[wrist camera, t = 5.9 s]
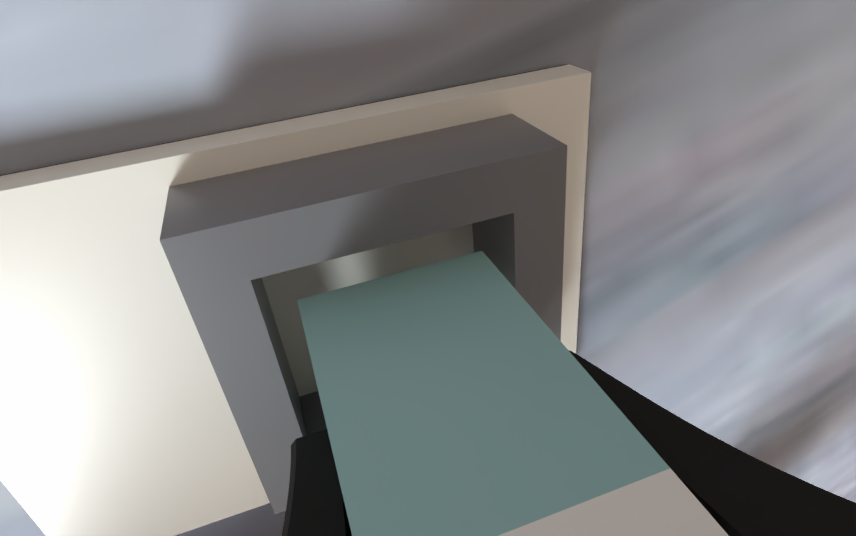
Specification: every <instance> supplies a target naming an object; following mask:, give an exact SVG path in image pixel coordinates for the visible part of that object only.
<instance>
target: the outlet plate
mask: <svg viewBox="0 0 856 536" xmlns="http://www.w3.org/2000/svg"><path fill="white" fill-rule="evenodd" d="M590 88H591V72H590V71H587V70H584V69H581V68H578V67H575V66H573V65H570V64H569V65H564V66H559V67H554V68H549V69H543V70H538V71H533V72H528V73H523V74H518V75H513V76H508V77H503V78H498V79H492V80H487V81H482V82H477V83H472V84H467V85H462V86H457V87H452V88H447V89H442V90H436V91H431V92H426V93H421V94H416V95H411V96H406V97H401V98H396V99H391V100H386V101H380V102H375V103H370V104H365V105H360V106H355V107H350V108H345V109H340V110H335V111H330V112H324V113H319V114H314V115H309V116H304V117H299V118H294V119H289V120H284V121H279V122H274V123H268V124H263V125H258V126H253V127H248V128H243V129H238V130H233V131H228V132H223V133H218V134H212V135H207V136H202V137H197V138H192V139H187V140H182V141H177V142H172V143H167V144H162V145H156V146H151V147H146V148H141V149H136V150H131V151H126V152H121V153H116V154H111V155H106V156H100V157H95V158H90V159H85V160H80V161H75V162H70V163H65V164H60V165H55V166H50V167H44V168H39V169H34V170H29V171H24V172H19V173H14V174H9V175H4V176H0V480H1V481H2V483H3V484H4V485H5V486H6V488H7V489H8V490H9V491H10V492H11V494H12V495H13V496H14V497H15V499H16V500H17V501H18V502H19V503H20V505H21V506H22V507H23V508H24V510H25V511H26V512H27V513H28V514H29V516H30V517H31V518H32V519H33V520H34V522H35V523H36V524H37V525H38V527H39V528H40V529H41V530H42V531H43V533H44V534H45V535H46V536H175V535H178V534H181V533H184V532H187V531H190V530H193V529H196V528H199V527H202V526H204V525H207V524H210V523H213V522H216V521H219V520H222V519H225V518H228V517H231V516H234V515H236V514H239V513H242V512H245V511H248V510H251V509H254V508H257V507H260V506H263V505H265V504H268V503H270V504H271V507H272V509H273V511H274V514H275V515H276V514H279V513H282V512H284V511H286V506H287V499H288V491H289V481H290V467H291V445H292V443H293V442H294V441H295V439H297V438H300V437H303V436H306V435H309V434H313V433H316V432H319V431H322V430H325V429H327V426H326V422H325V418H324V413H323V409H322V405H321V400H320V396H319V392H318V388H317V383H316V379H315V375H314V370H313V366H312V362H311V358H310V353H309V349H308V345H307V340H306V336H305V332H304V328H303V323H302V319H301V315H300V310H299V306H298V302H297V300H299V299H303V298H306V297H310V296H314V295H317V294H321V293H325V292H329V291H332V290H336V289H340V288H344V287H347V286H351V285H355V284H359V283H362V282H366V281H370V280H374V279H377V278H381V277H385V276H389V275H392V274H396V273H400V272H404V271H407V270H411V269H415V268H419V267H422V266H426V265H430V264H434V263H437V262H441V261H445V260H449V259H452V258H456V257H460V256H464V255H467V254H471V253H475V252H479V251H483V252H484V253H485V255H486V256H487V257H488V258H489V259H490V260H491V262H492V263H493V264H494V265H495V266H496V267H497V268H498V270H499V271H500V272H501V273H502V274H503V275H504V277H505V278H506V279H507V280H508V281H509V282H510V283H511V285H512V286H513V287H514V288H515V289H516V290H517V292H518V293H519V294H520V295H521V296H522V297H523V298H524V300H525V301H526V302H527V303H528V304H529V305H530V307H531V308H532V309H533V310H534V311H535V312H536V314H537V315H538V316H539V317H540V318H541V319H542V320H543V322H544V323H545V324H546V325H547V326H548V327H549V329H550V330H551V331H552V332H553V333H554V334H555V335H556V337H557V338H558V339H559V340H560V341H561V342H562V344H563V345H564V346H565V347H566V348H567V349H568V350H569V351H572V352H574V353H575V354H576V344H577V326H578V308H579V290H580V271H581V253H582V235H583V216H584V198H585V180H586V161H587V143H588V125H589V106H590Z"/></svg>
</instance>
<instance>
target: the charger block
mask: <svg viewBox="0 0 856 536" xmlns="http://www.w3.org/2000/svg"><path fill="white" fill-rule="evenodd" d="M297 302H298V306H299V310H300V315H301V319H302V323H303V328H304V332H305V336H306V340H307V345H308V349H309V353H310V358H311V362H312V366H313V370H314V375H315V379H316V383H317V388H318V392H319V396H320V400H321V405H322V409H323V413H324V418H325V422H326V426H327V430H328V435H329V439H330V443H331V448H332V452H333V456H334V460H335V465H336V469H337V473H338V478H339V482H340V486H341V490H342V495H343V499H344V503H345V508H346V512H347V516H348V521H349V525H350V529H351V533H352V536H729V535H728V534H727V533H726V532H725V531H724V530H723V528H722V527H721V526H720V525H719V524H718V523H717V521H716V520H715V519H714V518H713V517H712V516H711V515H710V513H709V512H708V511H707V510H706V509H705V508H704V506H703V505H702V504H701V503H700V502H699V501H698V500H697V498H696V497H695V496H694V495H693V494H692V493H691V491H690V490H689V489H688V488H687V487H686V486H685V485H684V483H683V482H682V481H681V480H680V479H679V478H678V476H677V475H676V474H675V473H674V472H673V471H672V469H671V468H670V467H669V466H668V465H667V464H666V463H665V461H664V460H663V459H662V458H661V457H660V456H659V454H658V453H657V452H656V451H655V450H654V449H653V448H652V446H651V445H650V444H649V443H648V442H647V441H646V439H645V438H644V437H643V436H642V435H641V434H640V433H639V431H638V430H637V429H636V428H635V427H634V426H633V424H632V423H631V422H630V421H629V420H628V419H627V417H626V416H625V415H624V414H623V413H622V412H621V411H620V409H619V408H618V407H617V406H616V405H615V404H614V402H613V401H612V400H611V399H610V398H609V397H608V396H607V394H606V393H605V392H604V391H603V390H602V389H601V387H600V386H599V385H598V384H597V383H596V382H595V381H594V379H593V378H592V377H591V376H590V375H589V374H588V372H587V371H586V370H585V369H584V368H583V367H582V366H581V364H580V363H579V362H578V361H577V360H576V359H575V357H574V356H573V355H572V354H571V353H570V352H569V350H568V349H567V348H566V347H565V346H564V345H563V344H562V342H561V341H560V340H559V339H558V338H557V337H556V335H555V334H554V333H553V332H552V331H551V330H550V329H549V327H548V326H547V325H546V324H545V323H544V322H543V320H542V319H541V318H540V317H539V316H538V315H537V314H536V312H535V311H534V310H533V309H532V308H531V307H530V305H529V304H528V303H527V302H526V301H525V300H524V298H523V297H522V296H521V295H520V294H519V293H518V292H517V290H516V289H515V288H514V287H513V286H512V285H511V283H510V282H509V281H508V280H507V279H506V278H505V277H504V275H503V274H502V273H501V272H500V271H499V270H498V268H497V267H496V266H495V265H494V264H493V263H492V262H491V260H490V259H489V258H488V257H487V256H486V255H485V253H484V252H483V251H479V252H475V253H471V254H467V255H464V256H460V257H456V258H452V259H449V260H445V261H441V262H437V263H434V264H430V265H426V266H422V267H419V268H415V269H411V270H407V271H404V272H400V273H396V274H392V275H389V276H385V277H381V278H377V279H374V280H370V281H366V282H362V283H359V284H355V285H351V286H347V287H344V288H340V289H336V290H332V291H329V292H325V293H321V294H317V295H314V296H310V297H306V298H303V299H299V300H297Z"/></svg>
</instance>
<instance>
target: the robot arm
mask: <svg viewBox="0 0 856 536" xmlns="http://www.w3.org/2000/svg"><path fill="white" fill-rule="evenodd" d="M569 352H570V353H571V354H572V355H573V356H574V357H575V359H576V360H577V361H578V362H579V363H580V364H581V366H582V367H583V368H584V369H585V370H586V371H587V372H588V374H589V375H590V376H591V377H592V378H593V379H594V381H595V382H596V383H597V384H598V385H599V386H600V387H601V389H602V390H603V391H604V392H605V393H606V394H607V396H608V397H609V398H610V399H611V400H612V401H613V402H614V404H615V405H616V406H617V407H618V408H619V409H620V411H621V412H622V413H623V414H624V415H625V416H626V417H627V419H628V420H629V421H630V422H631V423H632V424H633V426H634V427H635V428H636V429H637V430H638V431H639V433H640V434H641V435H642V436H643V437H644V438H645V439H646V441H647V442H648V443H649V444H650V445H651V446H652V448H653V449H654V450H655V451H656V452H657V453H658V454H659V456H660V457H661V458H662V459H663V460H664V461H665V463H666V464H667V465H668V466H669V467H670V468H671V469H672V471H673V472H674V473H675V474H676V475H677V476H678V478H679V479H680V480H681V481H682V482H683V483H684V485H685V486H686V487H687V488H688V489H689V490H690V491H691V493H692V494H693V495H694V496H695V497H696V498H697V500H698V501H699V502H700V503H701V504H702V505H703V506H704V508H705V509H706V510H707V511H708V512H709V513H710V515H711V516H712V517H713V518H714V519H715V520H716V521H717V523H718V524H719V525H720V526H721V527H722V528H723V530H724V531H725V532H726V533H727V534H728V535H729V536H856V503H855V502H852V501H849V500H847V499H845V498H842V497H840V496H837V495H835V494H833V493H830V492H828V491H826V490H823V489H821V488H819V487H816V486H814V485H812V484H810V483H808V482H805V481H803V480H801V479H799V478H797V477H794V476H792V475H790V474H788V473H786V472H783V471H781V470H779V469H777V468H775V467H773V466H770V465H768V464H766V463H764V462H762V461H760V460H758V459H756V458H754V457H752V456H750V455H748V454H746V453H744V452H742V451H740V450H738V449H736V448H734V447H733V446H731V445H729V444H727V443H725V442H723V441H721V440H719V439H717V438H716V437H714V436H712V435H710V434H708V433H706V432H704V431H702V430H701V429H699V428H697V427H695V426H694V425H692V424H690V423H688V422H686V421H685V420H683V419H681V418H680V417H678V416H676V415H674V414H673V413H671V412H669V411H668V410H666V409H664V408H662V407H661V406H659V405H657V404H656V403H654V402H652V401H651V400H649V399H647V398H646V397H644V396H642V395H641V394H639V393H638V392H636V391H634V390H633V389H631V388H630V387H628V386H626V385H625V384H623V383H622V382H620V381H618V380H617V379H615V378H614V377H612V376H610V375H609V374H607V373H606V372H604V371H602V370H601V369H599V368H598V367H596V366H594V365H593V364H591V363H590V362H588V361H587V360H585V359H583V358H582V357H580V356H579V355H577V354H575V353H574V352H572V351H569ZM282 536H352V533H351V529H350V525H349V521H348V516H347V512H346V508H345V503H344V499H343V495H342V490H341V486H340V482H339V478H338V473H337V469H336V465H335V460H334V456H333V452H332V448H331V443H330V439H329V435H328V430H327V429H325V430H322V431H319V432H316V433H313V434H309V435H306V436H303V437H300V438H297V439H295V441H294V442H293V443H292V445H291V467H290V481H289V491H288V499H287V506H286V514H285V521H284V526H283V532H282Z"/></svg>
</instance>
